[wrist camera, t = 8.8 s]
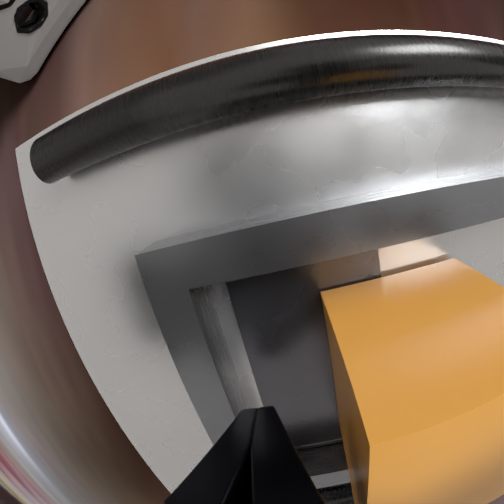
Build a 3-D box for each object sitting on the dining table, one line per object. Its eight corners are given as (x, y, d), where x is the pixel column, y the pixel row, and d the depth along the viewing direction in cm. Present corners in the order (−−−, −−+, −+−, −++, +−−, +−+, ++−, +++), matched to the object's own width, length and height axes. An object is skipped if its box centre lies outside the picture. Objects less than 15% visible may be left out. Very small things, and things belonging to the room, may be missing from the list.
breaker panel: (563, 71, 6) (606, 64, 3) (557, 374, 11) (583, 402, 7) (49, 149, 9) (-16, 149, 6) (191, 482, 14) (178, 529, 10)
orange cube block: (454, 257, 7) (580, 342, 2) (445, 391, 8) (504, 493, 4) (320, 291, 8) (370, 446, 3) (339, 423, 9) (361, 551, 4)
